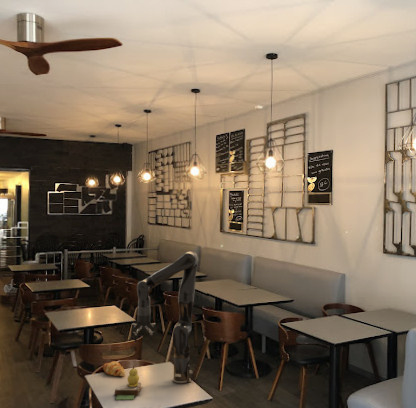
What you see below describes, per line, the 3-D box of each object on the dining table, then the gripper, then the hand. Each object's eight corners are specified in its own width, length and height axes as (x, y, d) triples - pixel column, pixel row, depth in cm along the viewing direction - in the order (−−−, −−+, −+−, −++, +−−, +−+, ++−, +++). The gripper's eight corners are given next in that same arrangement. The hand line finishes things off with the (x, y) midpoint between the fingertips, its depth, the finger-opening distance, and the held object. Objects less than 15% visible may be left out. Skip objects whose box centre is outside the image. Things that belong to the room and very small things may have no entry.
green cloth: (134, 396, 244) (134, 394, 244) (132, 399, 239) (133, 398, 239) (117, 396, 243) (117, 395, 243) (115, 400, 238) (115, 399, 238)
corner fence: (140, 387, 255) (140, 382, 255) (137, 395, 244) (137, 390, 244) (118, 388, 254) (118, 382, 254) (114, 395, 243) (114, 390, 243)
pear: (139, 382, 262) (140, 364, 262) (138, 387, 255) (138, 368, 256) (128, 383, 261) (128, 364, 262) (126, 387, 255) (126, 368, 255)
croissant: (127, 381, 272) (133, 368, 275) (115, 378, 265) (121, 364, 268) (107, 372, 286) (112, 359, 288) (94, 368, 279) (100, 355, 281)
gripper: (131, 315, 264) (130, 343, 264) (156, 314, 267) (155, 342, 267) (132, 312, 272) (131, 339, 272) (156, 312, 274) (155, 339, 274)
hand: (143, 341), depth 269 cm, fingers open, 8 cm apart
